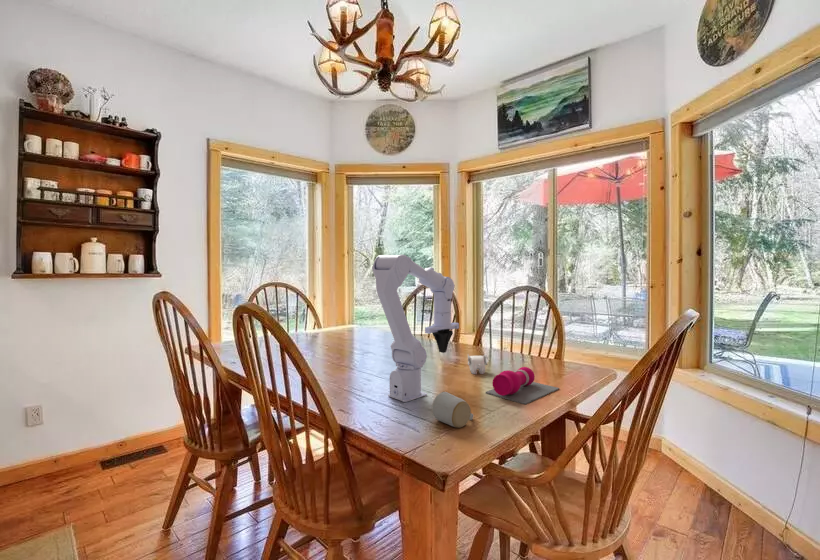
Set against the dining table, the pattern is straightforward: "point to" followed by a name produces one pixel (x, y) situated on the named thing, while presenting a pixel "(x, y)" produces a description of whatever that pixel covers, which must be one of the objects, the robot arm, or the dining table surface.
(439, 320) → the robot arm
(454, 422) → the ceramic mug
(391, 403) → the dining table surface
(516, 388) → the pepper mill
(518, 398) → the mat
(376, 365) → the dining table surface
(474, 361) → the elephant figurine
